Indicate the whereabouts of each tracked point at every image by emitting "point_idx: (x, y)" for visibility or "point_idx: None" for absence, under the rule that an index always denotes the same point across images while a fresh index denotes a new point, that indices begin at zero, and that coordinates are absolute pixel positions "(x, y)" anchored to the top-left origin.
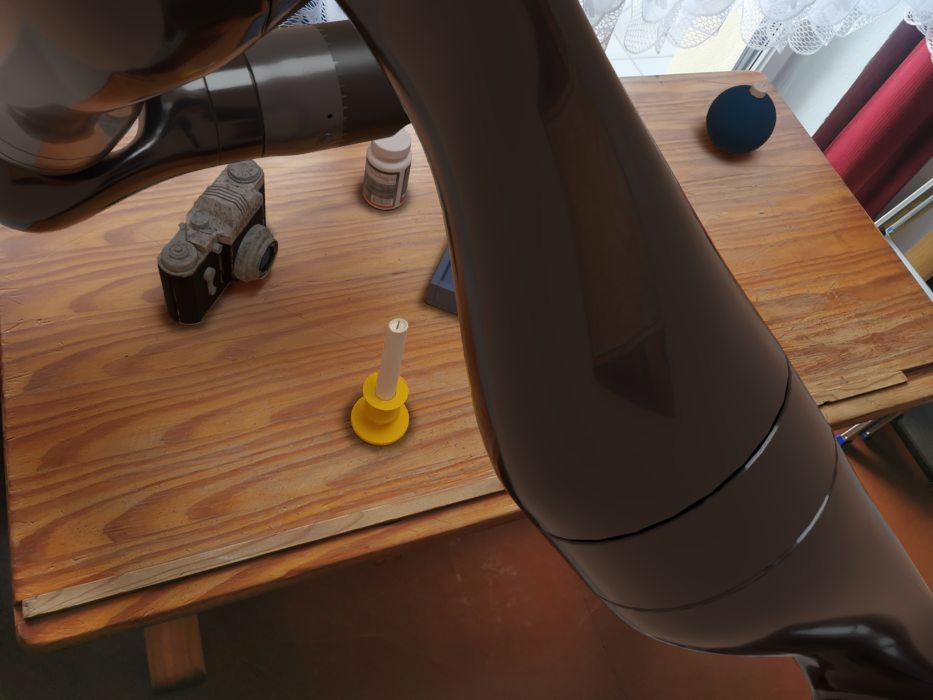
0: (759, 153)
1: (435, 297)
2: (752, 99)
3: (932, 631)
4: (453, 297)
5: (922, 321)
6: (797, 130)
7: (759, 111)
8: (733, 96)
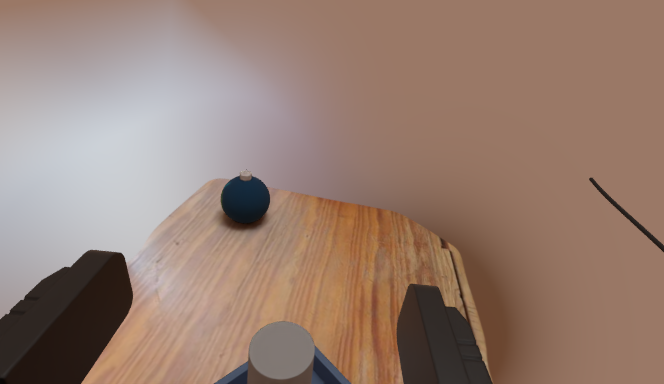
0: None
1: None
2: (248, 182)
3: None
4: None
5: (410, 220)
6: None
7: (257, 186)
8: (235, 189)
